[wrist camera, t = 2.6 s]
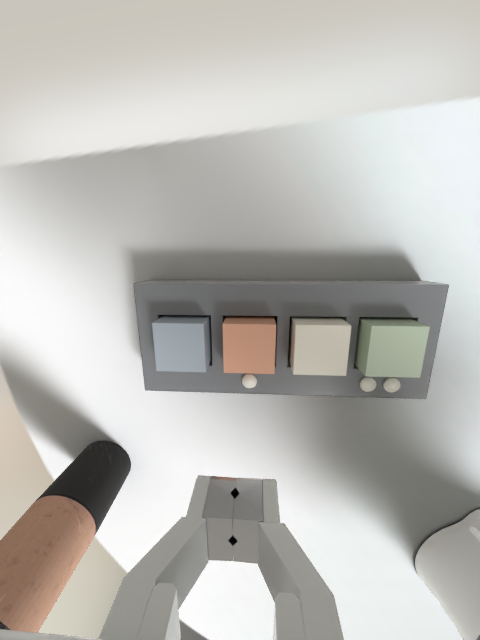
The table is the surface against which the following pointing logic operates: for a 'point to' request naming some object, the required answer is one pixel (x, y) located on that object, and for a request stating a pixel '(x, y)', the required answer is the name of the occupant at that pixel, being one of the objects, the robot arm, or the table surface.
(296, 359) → the cream key
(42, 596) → the travel mug
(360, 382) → the keypad
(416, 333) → the sage key
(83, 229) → the table surface
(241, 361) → the terracotta key
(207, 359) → the slate key
